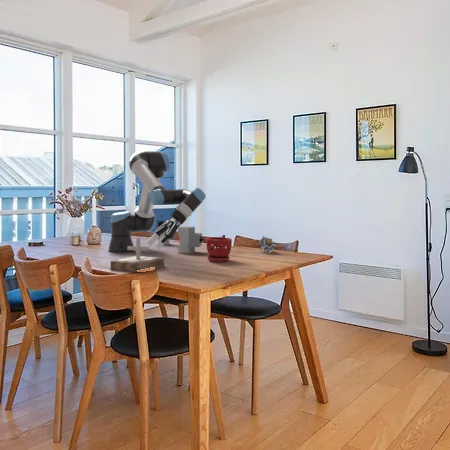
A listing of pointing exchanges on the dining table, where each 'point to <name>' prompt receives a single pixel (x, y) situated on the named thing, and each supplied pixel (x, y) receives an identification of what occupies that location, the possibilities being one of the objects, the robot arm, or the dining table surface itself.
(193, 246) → the circuit breaker
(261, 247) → the passion flower
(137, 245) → the pipe connector
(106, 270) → the dining table surface
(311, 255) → the dining table surface
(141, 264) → the stand
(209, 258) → the plant pot
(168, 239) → the grey travel mug
